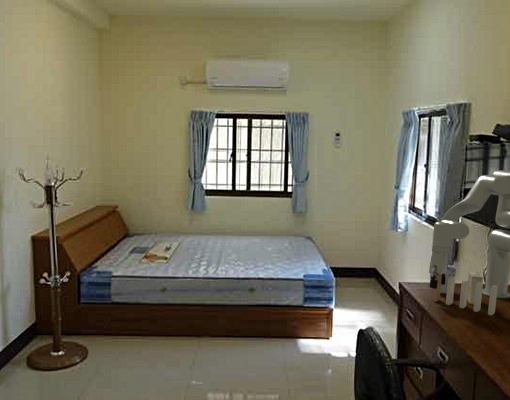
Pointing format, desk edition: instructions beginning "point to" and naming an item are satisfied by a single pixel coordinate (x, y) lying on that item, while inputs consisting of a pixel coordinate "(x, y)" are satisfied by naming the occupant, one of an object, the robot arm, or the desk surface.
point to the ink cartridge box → (449, 273)
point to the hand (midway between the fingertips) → (437, 286)
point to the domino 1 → (437, 291)
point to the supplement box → (473, 285)
